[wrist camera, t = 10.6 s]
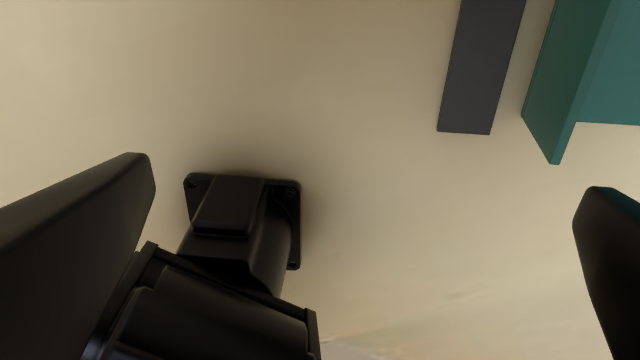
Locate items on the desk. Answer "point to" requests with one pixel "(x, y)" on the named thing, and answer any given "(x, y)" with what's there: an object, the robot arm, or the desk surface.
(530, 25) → the desk surface
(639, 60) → the dustpan
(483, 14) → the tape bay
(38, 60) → the desk surface
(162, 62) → the desk surface
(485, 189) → the desk surface
